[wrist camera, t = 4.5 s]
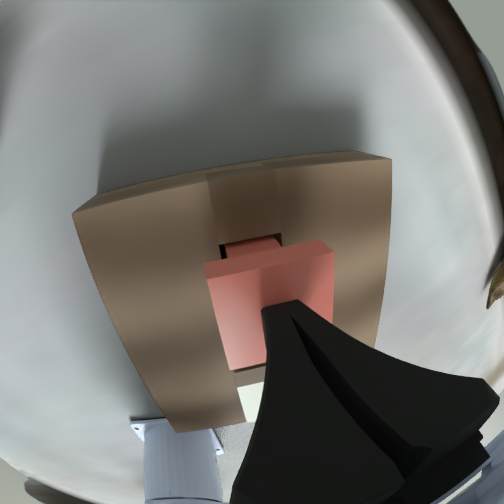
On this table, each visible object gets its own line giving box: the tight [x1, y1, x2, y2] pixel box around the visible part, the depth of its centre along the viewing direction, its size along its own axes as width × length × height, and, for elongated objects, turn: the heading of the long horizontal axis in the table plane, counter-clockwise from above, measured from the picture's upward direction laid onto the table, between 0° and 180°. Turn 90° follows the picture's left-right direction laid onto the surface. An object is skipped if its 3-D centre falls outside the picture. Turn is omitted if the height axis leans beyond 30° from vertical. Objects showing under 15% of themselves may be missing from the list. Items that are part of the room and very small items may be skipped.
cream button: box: [234, 366, 266, 423], centre depth 19 cm, size 4×4×5 cm
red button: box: [205, 235, 334, 370], centre depth 13 cm, size 4×4×5 cm
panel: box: [72, 151, 392, 433], centre depth 18 cm, size 18×16×4 cm
